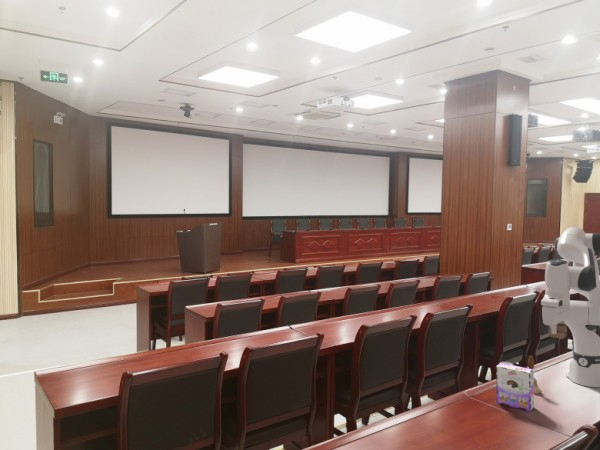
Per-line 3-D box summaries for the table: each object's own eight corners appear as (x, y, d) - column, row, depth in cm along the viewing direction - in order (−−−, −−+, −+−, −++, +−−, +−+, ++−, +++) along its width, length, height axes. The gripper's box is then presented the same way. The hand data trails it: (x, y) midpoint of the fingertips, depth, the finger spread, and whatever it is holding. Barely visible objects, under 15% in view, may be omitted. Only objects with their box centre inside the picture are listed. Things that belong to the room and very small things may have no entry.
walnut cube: (553, 333, 183) (553, 322, 183) (566, 336, 179) (566, 324, 179) (548, 336, 180) (548, 324, 180) (562, 338, 176) (561, 326, 176)
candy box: (534, 407, 184) (534, 369, 183) (530, 412, 179) (530, 373, 179) (500, 398, 193) (500, 361, 192) (496, 402, 189) (495, 365, 188)
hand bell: (545, 393, 197) (544, 358, 196) (526, 393, 197) (526, 359, 196) (535, 386, 205) (535, 352, 205) (517, 386, 205) (517, 353, 205)
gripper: (558, 294, 188) (558, 326, 188) (539, 301, 175) (539, 335, 175) (575, 296, 183) (575, 328, 184) (556, 304, 170) (556, 338, 171)
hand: (557, 332), depth 179 cm, fingers closed on walnut cube, 5 cm apart
